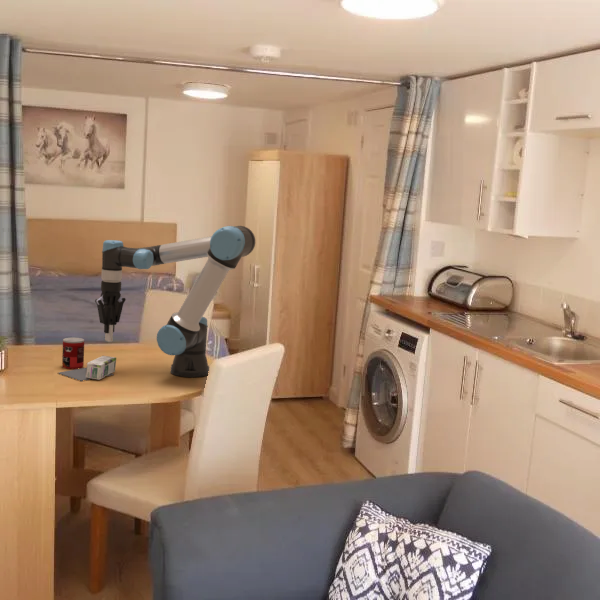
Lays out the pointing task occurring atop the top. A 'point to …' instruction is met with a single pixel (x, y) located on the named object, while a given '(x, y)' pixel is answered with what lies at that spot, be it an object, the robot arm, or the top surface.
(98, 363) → the syrup box
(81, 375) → the mat
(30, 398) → the top surface
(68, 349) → the canned food
